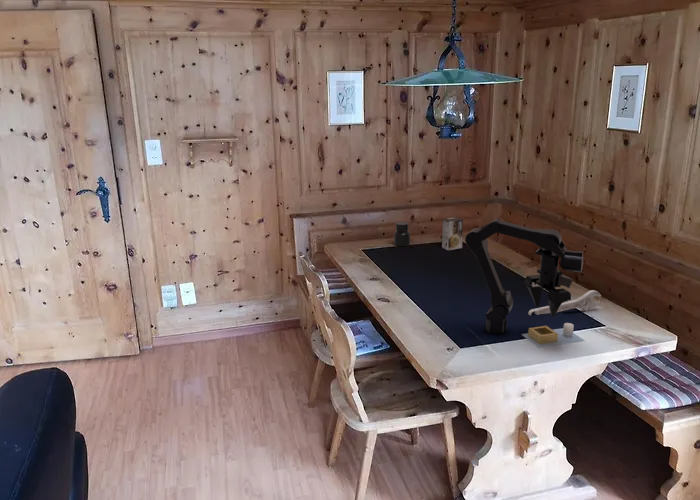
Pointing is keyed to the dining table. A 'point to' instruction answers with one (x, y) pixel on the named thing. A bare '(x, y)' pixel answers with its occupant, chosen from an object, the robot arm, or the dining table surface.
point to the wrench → (572, 304)
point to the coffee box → (452, 233)
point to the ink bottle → (402, 234)
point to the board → (560, 336)
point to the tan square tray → (543, 335)
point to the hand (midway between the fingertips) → (544, 311)
